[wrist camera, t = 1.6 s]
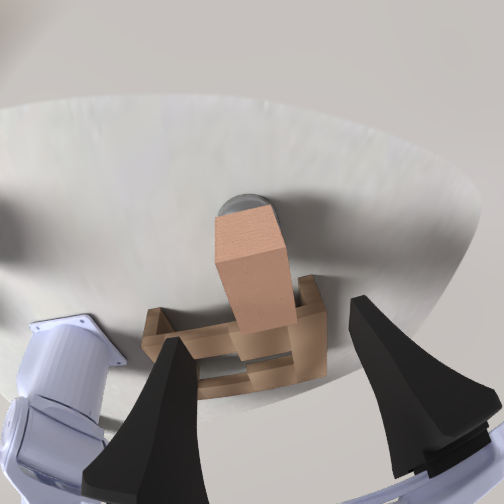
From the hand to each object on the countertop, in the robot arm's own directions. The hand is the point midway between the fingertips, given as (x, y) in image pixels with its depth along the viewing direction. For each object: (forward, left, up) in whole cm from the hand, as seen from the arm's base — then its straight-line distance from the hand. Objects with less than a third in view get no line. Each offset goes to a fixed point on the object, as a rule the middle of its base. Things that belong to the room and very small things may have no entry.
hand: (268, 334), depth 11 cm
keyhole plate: (-3, -11, -9) cm, 15 cm away
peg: (0, 0, -9) cm, 9 cm away
